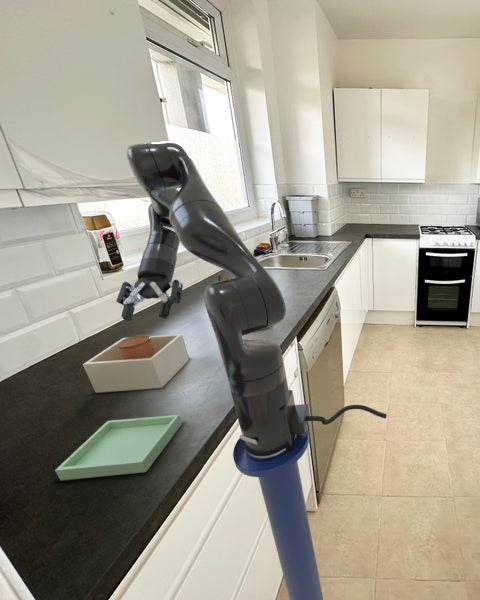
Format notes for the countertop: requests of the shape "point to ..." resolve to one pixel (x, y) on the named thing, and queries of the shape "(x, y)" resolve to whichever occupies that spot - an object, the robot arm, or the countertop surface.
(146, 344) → the terracotta pot
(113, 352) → the cream storage bin
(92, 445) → the shallow green tray
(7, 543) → the countertop surface
